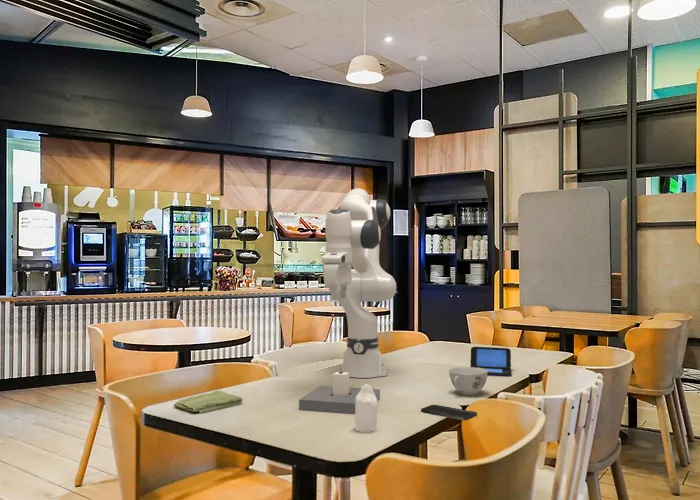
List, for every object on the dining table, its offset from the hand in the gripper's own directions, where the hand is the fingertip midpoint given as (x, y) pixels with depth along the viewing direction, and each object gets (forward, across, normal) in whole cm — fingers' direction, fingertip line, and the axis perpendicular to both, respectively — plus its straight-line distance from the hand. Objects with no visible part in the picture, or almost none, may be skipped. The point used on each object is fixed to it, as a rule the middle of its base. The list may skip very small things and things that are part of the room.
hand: (338, 299), depth 200 cm
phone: (+32, +16, +38) cm, 52 cm away
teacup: (+31, -10, +41) cm, 52 cm away
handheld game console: (+32, -50, +47) cm, 75 cm away
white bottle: (+31, +38, +19) cm, 53 cm away
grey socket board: (+31, +14, +5) cm, 34 cm away
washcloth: (+32, +27, -33) cm, 53 cm away
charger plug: (+31, +14, +5) cm, 34 cm away
